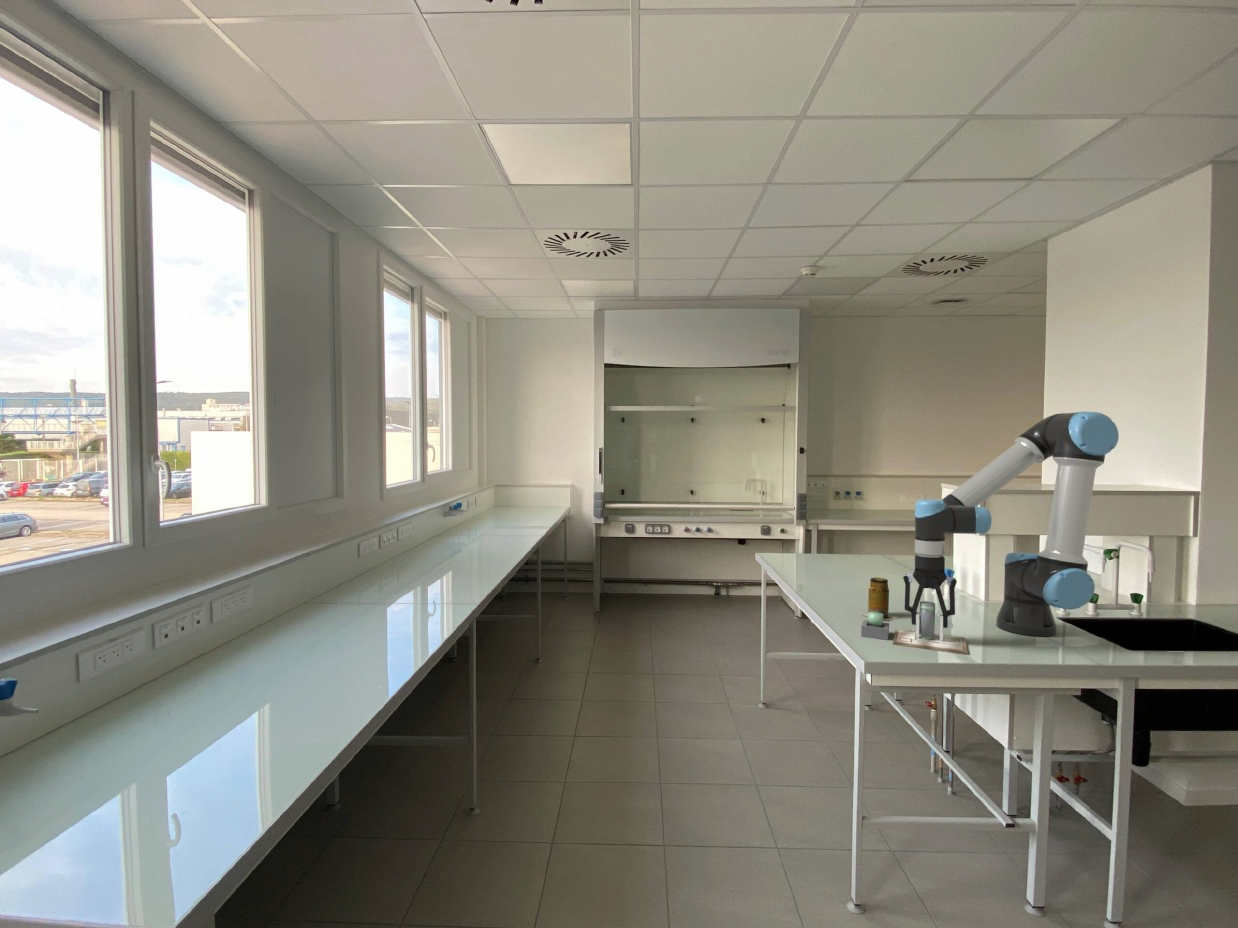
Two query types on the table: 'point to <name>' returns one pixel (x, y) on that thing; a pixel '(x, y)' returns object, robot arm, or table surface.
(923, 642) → the framed board
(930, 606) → the marker
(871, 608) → the condiment
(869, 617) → the button
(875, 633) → the button box
